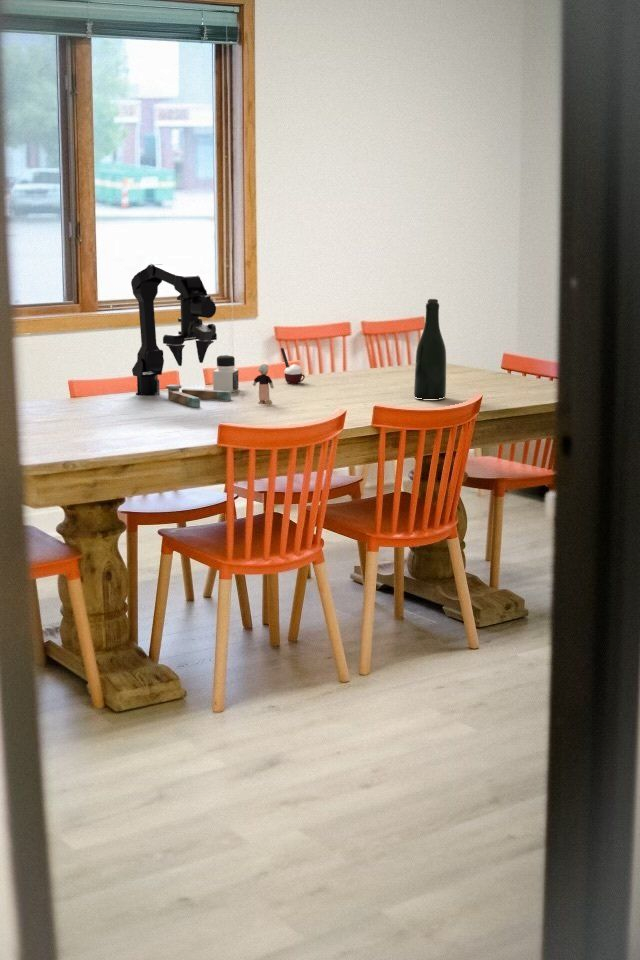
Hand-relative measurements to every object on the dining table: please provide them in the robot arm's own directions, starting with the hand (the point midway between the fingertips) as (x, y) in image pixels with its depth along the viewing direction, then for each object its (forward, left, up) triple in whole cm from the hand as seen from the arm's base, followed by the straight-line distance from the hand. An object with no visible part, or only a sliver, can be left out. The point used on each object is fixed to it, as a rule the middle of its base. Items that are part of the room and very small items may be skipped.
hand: (190, 364), depth 391 cm
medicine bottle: (+4, +27, -13) cm, 31 cm away
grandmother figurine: (+22, +7, -13) cm, 27 cm away
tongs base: (-1, +9, -13) cm, 16 cm away
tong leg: (-2, 0, -13) cm, 13 cm away
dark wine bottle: (+74, +27, -13) cm, 80 cm away
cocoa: (+23, +48, -13) cm, 55 cm away
